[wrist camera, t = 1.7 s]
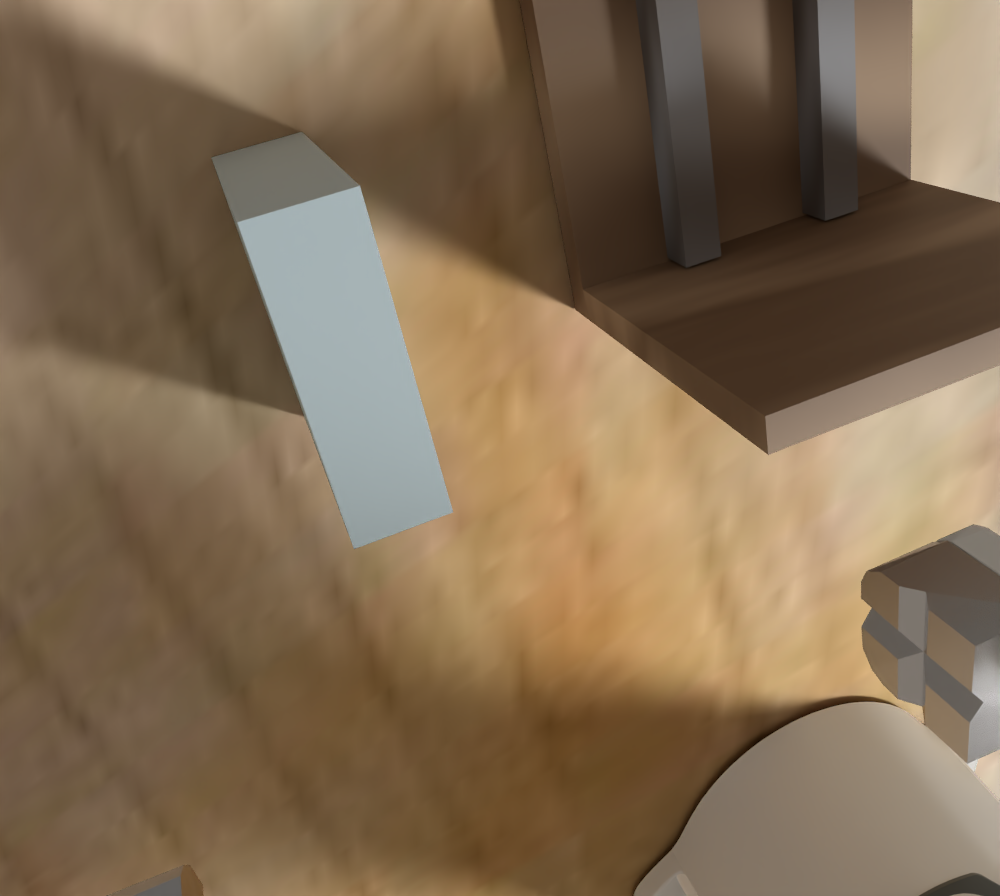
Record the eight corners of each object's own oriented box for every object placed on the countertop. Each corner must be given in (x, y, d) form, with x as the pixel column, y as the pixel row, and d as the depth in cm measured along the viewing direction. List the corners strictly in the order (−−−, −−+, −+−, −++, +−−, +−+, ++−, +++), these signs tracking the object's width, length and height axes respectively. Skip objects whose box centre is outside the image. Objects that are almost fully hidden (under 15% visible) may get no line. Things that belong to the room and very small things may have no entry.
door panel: (381, 390, 29) (453, 512, 23) (304, 416, 29) (354, 548, 22) (301, 131, 25) (359, 185, 19) (210, 157, 25) (237, 222, 18)
